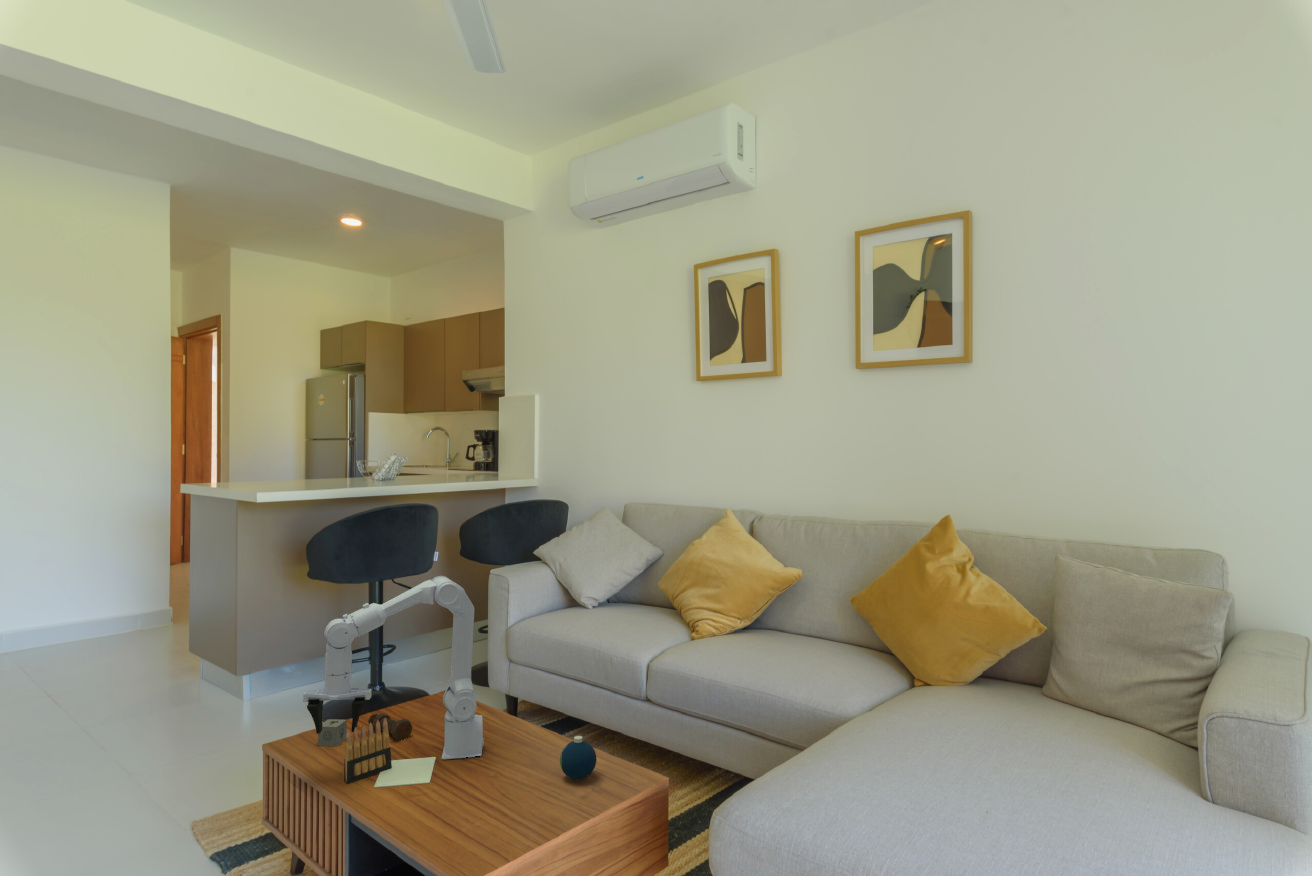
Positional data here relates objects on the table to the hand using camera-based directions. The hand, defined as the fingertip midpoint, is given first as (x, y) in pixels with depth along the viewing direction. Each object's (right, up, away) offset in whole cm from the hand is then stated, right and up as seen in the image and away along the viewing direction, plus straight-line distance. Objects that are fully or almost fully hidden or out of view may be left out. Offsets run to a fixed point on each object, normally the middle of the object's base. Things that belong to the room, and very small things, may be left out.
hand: (336, 731), depth 170 cm
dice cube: (-10, -11, +21) cm, 26 cm away
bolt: (+2, -12, +27) cm, 29 cm away
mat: (+15, -11, +3) cm, 19 cm away
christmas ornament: (+56, -11, -1) cm, 57 cm away
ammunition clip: (+7, -11, +1) cm, 13 cm away
